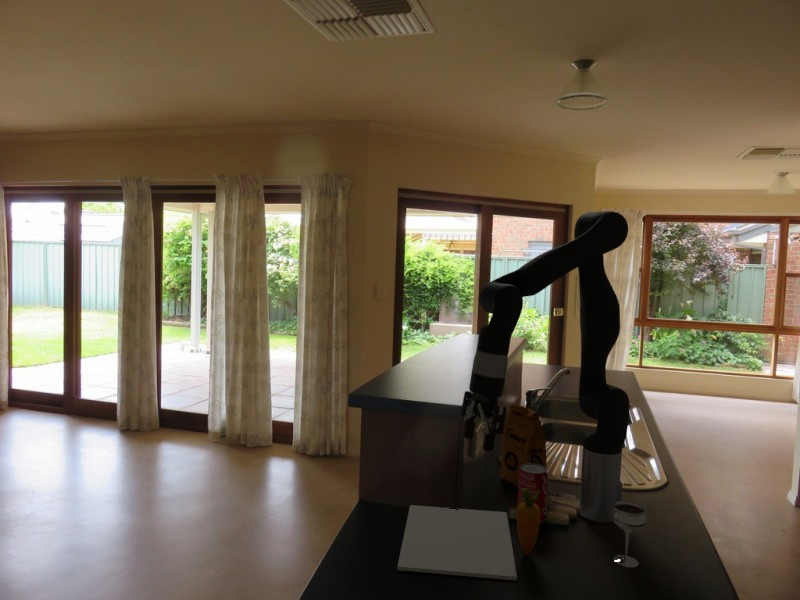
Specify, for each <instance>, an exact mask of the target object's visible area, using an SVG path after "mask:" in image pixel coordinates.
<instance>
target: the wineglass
mask: <svg viewBox="0 0 800 600" xmlns="http://www.w3.org/2000/svg"><path fill="white" fill-rule="evenodd" d="M613 506H614V509H613V511H612V518H613V521H614V522H613V523H614V524H615V525H616V526H617V527H618V528H619V529H620V530H623V532H624V533H625V546H624V547H625V548H624V549H625V554H616V555H615V556H613V560H614V562H615V563H616V564H618V565H620V566H623V567H626V568H636V567H638V566H639V562H638V560H637V559H636V558H635V557H633V556H630V555H628V552H629V541H630V534H632V533H635V532H639V530H642V529H643V528H644V527H645V525H646V523H647V522H646V521H647V517H646V516H647V515H646V514H645V513H646V512H647V508H646V507H645V505H643V504H641V503H639V502H636V501H633V500H627V499H622V500H618V501H615V502H613Z"/></svg>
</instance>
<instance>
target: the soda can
mask: <svg viewBox="0 0 800 600" xmlns="http://www.w3.org/2000/svg"><path fill="white" fill-rule="evenodd" d="M523 488H525V489H528V490H529V492H530V495H531V498H533V496H534V494H535V492H536V491H537V490H539V491H540V493H539V495H538V496H537V500H535V501H534V504H536V505H537V506H538V507H539V509H540V513H541V514H540V525H542V524H543V523H544V522H545V521H546V520H547V518H548V497H549V496H548V493H549V474H548V472H547V466H546V467H544V466H542V465H539V464H534V463H527V464H523V465H521V469H520V471H519V475H518V487H517V506H516V507H518V505H520V504H521V503H523V502H524V501H523V500H522V498H524V496H523V493H522V489H523ZM527 496H528V495H527ZM528 500H529V498H528ZM531 501H532V499H531Z"/></svg>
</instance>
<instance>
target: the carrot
mask: <svg viewBox="0 0 800 600" xmlns="http://www.w3.org/2000/svg"><path fill="white" fill-rule="evenodd" d="M522 493H523V496H524V498H522V500H523V501H524V502H523V503H521V504H520V505H518V507H517V506H516V507H517V508H516V528H517V536H518V541H519V545H520V548H521V549H522V551H523V554H524V555H525V556H529V555H530V554H531V552H532V551H533V549H534V547H535V545H536V543H537V539H538V535H539V531H540V525H541V524H540V514H541V513H540V509H539V507H538V506H537V505H536V504H534V501H535V500H537V496H538V495H539V493H540V491H539V490H537V491H536V492H535V494H534V496H533V498H531V495H530V492H529V490H528V489H525V488H523V489H522ZM527 495H528V496H527ZM528 498H529V500H528ZM531 499H532V501H531Z"/></svg>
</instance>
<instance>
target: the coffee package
mask: <svg viewBox="0 0 800 600" xmlns="http://www.w3.org/2000/svg"><path fill="white" fill-rule="evenodd" d="M508 407H509V409H510V413H509V414H508V416H507V418H506V421H505V422H504V430H503V434H501V446H500V447H501V455H500V478H502V479H504V480H506V482H509V483H510V484H512V485H513V486H514V487H515V488H516V487H517V488H518V475H519V471H520V469H521V465H523V464H527V463H534V464H539V465H542V466H544V467H546V468H547V464H548V461H547V448H546V447H547V446H546V445H547V443H546V438H545V437H546V436H545V432H544V429H543V425H542V422H541V419H540V416H539V413H538V412H537V411H535V410H532V409H530V408H528V407H525V406H523V405H520V404H516V403H511V404H510V405H509V406H508Z"/></svg>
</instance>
